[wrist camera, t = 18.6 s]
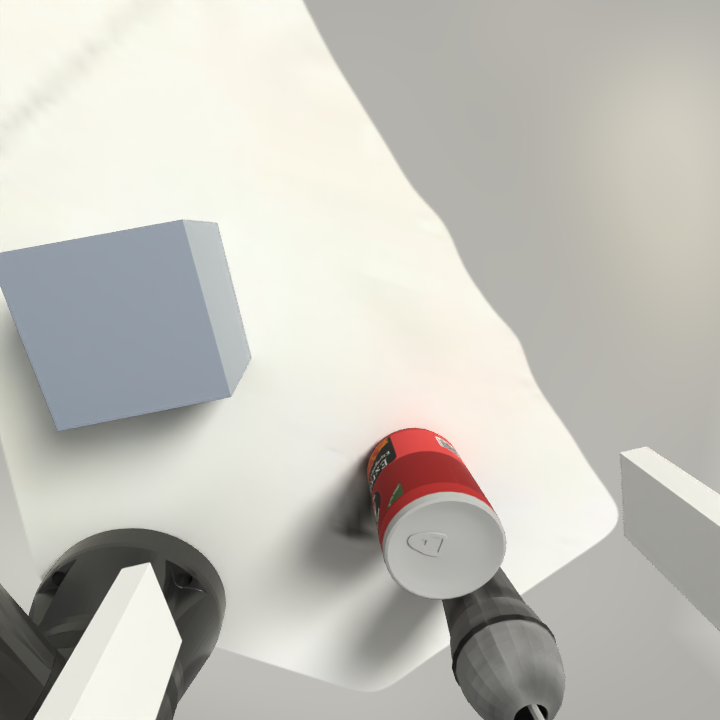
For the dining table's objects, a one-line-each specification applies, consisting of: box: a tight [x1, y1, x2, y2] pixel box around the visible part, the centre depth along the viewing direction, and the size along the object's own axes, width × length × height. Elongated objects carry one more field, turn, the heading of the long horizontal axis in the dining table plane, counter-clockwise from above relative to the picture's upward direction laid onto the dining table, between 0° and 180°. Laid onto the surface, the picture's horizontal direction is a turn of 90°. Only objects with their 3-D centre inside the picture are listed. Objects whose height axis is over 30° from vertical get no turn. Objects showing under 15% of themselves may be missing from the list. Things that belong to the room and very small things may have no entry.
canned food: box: [367, 428, 506, 600], centre depth 34 cm, size 8×8×11 cm
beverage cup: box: [442, 567, 565, 720], centre depth 32 cm, size 7×7×20 cm
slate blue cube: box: [0, 220, 251, 431], centre depth 30 cm, size 10×10×9 cm
